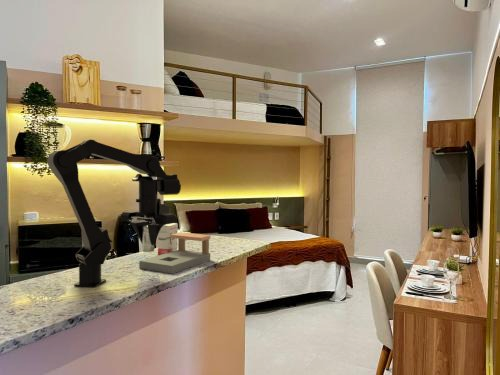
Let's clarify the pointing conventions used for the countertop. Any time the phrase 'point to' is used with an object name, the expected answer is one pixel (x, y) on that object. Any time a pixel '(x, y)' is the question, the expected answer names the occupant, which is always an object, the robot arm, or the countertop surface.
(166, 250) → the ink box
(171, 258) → the socket board
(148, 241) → the peg
